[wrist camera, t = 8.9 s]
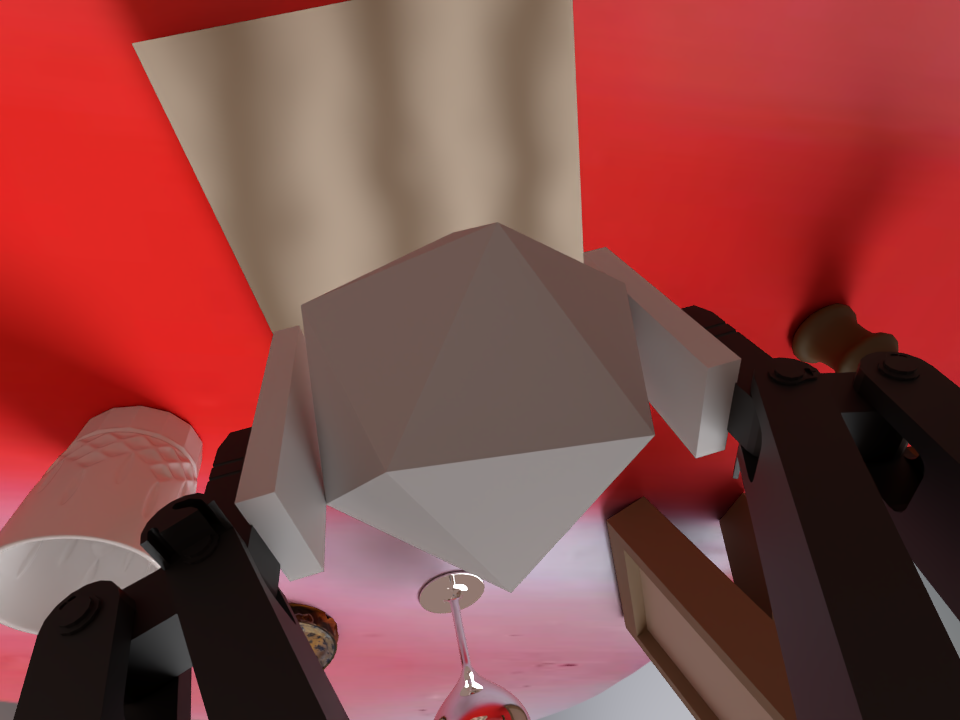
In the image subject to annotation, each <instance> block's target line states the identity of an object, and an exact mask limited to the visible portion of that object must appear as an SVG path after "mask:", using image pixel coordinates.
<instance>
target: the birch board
mask: <svg viewBox="0 0 960 720" xmlns="http://www.w3.org/2000/svg"><path fill="white" fill-rule="evenodd" d="M132 45H133V47H134V49H135V51H136V53H137V55H138V57H139V59H140V61H141V63H142V65H143V67H144V70H145V72H146V74H147V76H148V78H149V80H150V82H151V84H152V86H153V88H154V90H155V92H156V94H157V96H158V98H159V100H160V102H161V104H162V107H163V109H164V111H165V113H166V115H167V117H168V119H169V121H170V123H171V125H172V127H173V129H174V131H175V133H176V135H177V137H178V139H179V141H180V144H181V146H182V148H183V150H184V152H185V154H186V156H187V158H188V160H189V162H190V164H191V166H192V168H193V170H194V172H195V174H196V176H197V178H198V181H199V183H200V185H201V187H202V189H203V191H204V193H205V195H206V197H207V199H208V201H209V203H210V205H211V207H212V209H213V211H214V213H215V215H216V218H217V220H218V222H219V224H220V226H221V228H222V230H223V232H224V234H225V236H226V238H227V240H228V242H229V244H230V246H231V248H232V250H233V253H234V255H235V257H236V259H237V261H238V263H239V265H240V267H241V269H242V271H243V273H244V275H245V277H246V279H247V281H248V283H249V285H250V287H251V290H252V292H253V294H254V296H255V298H256V300H257V302H258V304H259V306H260V308H261V310H262V312H263V314H264V316H265V318H266V320H267V322H268V324H269V327H270V329H271V331H272V333H273V334H274V332H275V331H279V330H283V329H287V328H290V327H294V326H298V325H299V326H300V328H301V330H302V332H303V335H304V327H303V319H302V311H301V305H302V304H304V303H306V302H308V301H310V300H312V299H315V298H317V297H319V296H321V295H323V294H325V293H327V292H329V291H331V290H333V289H336V288H338V287H340V286H342V285H344V284H346V283H348V282H350V281H352V280H354V279H356V278H359V277H361V276H363V275H365V274H367V273H369V272H371V271H373V270H375V269H377V268H380V267H382V266H384V265H386V264H388V263H390V262H392V261H394V260H396V259H398V258H400V257H403V256H405V255H407V254H409V253H411V252H413V251H415V250H417V249H419V248H421V247H424V246H426V245H428V244H430V243H432V242H434V241H436V240H438V239H440V238H442V237H444V236H447V235H449V234H451V233H453V232H457V231H461V230H465V229H470V228H474V227H478V226H483V225H487V224H491V223H496V222H498V223H501V224H503V225H505V226H507V227H509V228H511V229H513V230H515V231H517V232H519V233H521V234H523V235H526V236H528V237H530V238H532V239H534V240H536V241H538V242H540V243H542V244H544V245H546V246H548V247H550V248H553V249H555V250H557V251H559V252H561V253H563V254H565V255H567V256H569V257H571V258H573V259H575V260H578V261H580V262H582V263H584V260H583V234H582V211H581V187H580V164H579V141H578V118H577V94H576V71H575V48H574V25H573V1H572V0H351V1H346V2H341V3H336V4H330V5H325V6H320V7H315V8H310V9H305V10H300V11H295V12H290V13H285V14H279V15H274V16H269V17H264V18H259V19H254V20H249V21H244V22H239V23H234V24H228V25H223V26H218V27H213V28H208V29H203V30H198V31H193V32H188V33H183V34H177V35H172V36H167V37H162V38H157V39H152V40H147V41H142V42H137V43H132ZM304 337H305V335H304Z"/></svg>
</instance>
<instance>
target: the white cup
mask: <svg viewBox="0 0 960 720" xmlns="http://www.w3.org/2000/svg"><path fill="white" fill-rule="evenodd" d="M201 463H202V441H201V440H200V438H199V437H198V435H197V434H196V432H195V431H194V429H193V428H192V426H191V425H190V424H188V423H186V422H185V421H183V420H182V419H180V418H178V417H177V416H175V415H173V414H172V413H170V412H167V411H162V410H158V409H154V408H150V407H145V406H131V407H118V408H112V409H110V410H108V411H106V412H103V413H101V414H99V415H97V416H95V417H93V418H91V419H90V420H89V421H88V422H87V424H86V425H85V426H84V428H83V429H82V430H81V432H80V433H79V434H78V436H77V437H76V439H75V440H74V441H73V442H72V444H71V445H70V446H69V447H68V448H67V450H66V451H65V452H63V453H62V454H61V455H60V456H58V458H57V459H56V461H55V462H54V463H53V464H52V465H51V466H50V468H49V469H48V470H47V471H46V472H45V474H44V475H43V476H42V478H41V480H40V481H39V482H38V483H37V484H36V485H35V486H34V488H33V489H32V490H31V491H30V492H29V494H28V495H27V496H26V498H25V499H24V500H23V502H22V503H21V504H20V506H19V507H18V508H17V510H16V511H15V512H14V514H13V515H12V516H11V518H10V519H9V520H8V522H7V523H6V524H5V526H4V527H3V528H2V530H1V531H0V623H1V624H3V625H5V626H8V627H10V628H13V629H16V630H19V631H23V632H27V633H31V634H36V635H38V633H39V631H40V629H41V627H42V625H43V622H44V620H45V619H46V618H47V617H48V615H49V614H50V613H51V612H52V611H53V609H54V608H55V607H56V606H57V605H58V604H59V603H60V602H61V601H63V600H64V599H65V598H66V597H67V596H69V595H70V594H71V593H73V592H74V591H76V590H78V589H80V588H81V587H83V586H85V585H87V584H90V583H93V582H96V581H100V580H105V581H112V582H114V583H115V584H116V585H117V586H118V587H120V588H121V589H124V588H126V587H127V586H129V585H131V584H133V583H135V582H137V581H138V580H140V579H142V578H144V577H146V576H147V575H149V574H151V573H153V572H155V571H156V570H158V569H159V568H161V566H160V565H159V564H158V563H157V562H156V561H155V560H154V559H153V558H152V557H151V556H150V555H149V554H148V553H147V552H146V551H145V550H144V549H143V548H142V547H141V545H140V537H141V533H142V531H143V529H144V527H145V525H146V524H147V522H148V521H149V520H150V519H151V518H152V517H153V516H154V515H155V513H156V512H157V511H159V510H160V509H161V508H163V507H164V506H166V505H167V504H168V503H170V502H171V501H174V500H176V499H178V498H180V497H182V496H185V495H190V494H195V492H196V487H197V478H198V474H199V470H200V467H201Z"/></svg>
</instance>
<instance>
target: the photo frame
mask: <svg viewBox="0 0 960 720" xmlns="http://www.w3.org/2000/svg"><path fill="white" fill-rule="evenodd" d="M606 522H607V527H608V532H609V538H610V543H611V549H612V554H613V560H614V565H615V571H616V576H617V582H618V587H619V593H620V598H621V603H622V609H623V614H624V620H625V625H626V628H627V630H628V631H629V632H630V634H631V635H632V636H633V637H634V639H635V640H636V641H637V643H638V644H639V645H640V647H641V648H642V649H643V651H644V652H645V653H646V655H647V656H648V657H649V659H650V660H651V661H652V662H653V664H654V665H655V666H656V668H657V669H658V670H659V672H660V673H661V674H662V676H663V677H664V678H665V679H666V681H667V682H668V683H669V685H670V686H671V687H672V689H673V690H674V691H675V693H676V694H677V695H678V697H679V698H680V699H681V701H682V702H683V703H684V704H685V706H686V707H687V708H688V710H689V711H690V712H691V714H692V715H693V716H694V718H695V719H696V720H797V717H796V713H795V708H794V704H793V700H792V695H791V691H790V686H789V682H788V678H787V673H786V669H785V664H784V660H783V656H782V651H781V647H780V642H779V638H778V634H777V629H776V625H775V620H774V616H773V612H772V607H771V603H770V598H769V594H768V590H767V585H766V581H765V576H764V572H763V568H762V563H761V559H760V554H759V550H758V546H757V541H756V537H755V532H754V528H753V524H752V519H751V515H750V510H749V506H748V502H747V497H746V493H742V494H741V495H740V496H739V498H738V499H737V500H736V501H735V503H734V504H733V505H732V506H731V507H730V509H729V510H728V511H727V512H726V514H725V515H724V516H723V517H722V518H721V520H720V521H719V522H720V526H721V531H722V535H723V539H724V543H725V547H726V551H727V555H728V560H729V564H730V568H731V572H732V576H733V580H734V583H733V582H732V581H731V580H730V579H729V578H728V577H727V576H726V575H725V574H724V573H723V572H722V571H721V570H720V569H719V568H718V567H717V566H716V565H715V564H714V563H713V562H712V561H711V560H710V559H709V558H707V557H706V556H705V555H704V554H703V553H702V552H701V551H700V550H699V549H698V548H697V547H696V546H695V545H694V544H693V543H692V542H691V541H690V540H689V539H688V538H687V537H686V536H685V535H684V534H683V533H681V532H680V531H679V530H678V529H677V528H676V527H675V526H674V525H673V524H672V523H671V522H670V521H669V520H668V519H667V518H666V517H665V516H664V515H663V514H662V513H661V512H660V511H659V510H658V509H657V508H656V507H654V506H653V505H652V504H651V503H650V502H649V501H648V500H647V499H646V498H645V497H644V496H643V497H642V498H640V499H639V500H637V501H636V502H634V503H633V504H631V505H629V506H628V507H626V508H625V509H623V510H622V511H620V512H619V513H617V514H616V515H614V516H612V517H611V518H609V519H608V520H606Z"/></svg>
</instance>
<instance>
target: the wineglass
mask: <svg viewBox="0 0 960 720" xmlns="http://www.w3.org/2000/svg"><path fill="white" fill-rule="evenodd" d="M483 592H484V582H483V580H482V579H481V578H479V577H477V576H475V575H473V574H471V573H469V572H464V571H460V572H451V573H447V574H444V575H441V576H439V577H437V578H435V579H433V580H432V581H430V582H429V583H428V584H426V585H425V586H424V588H423V589H422V591H421V593H420V596H419V601H420V604H421V606H422V607H423V608H424V609H426V610H427V611H430V612H433V613H451V612H452V616H453V621H454V626H455V631H456V637H457V642H458V648H459V653H460V659H461V664H462V671H461V675H460V678H459V680H458V682H457V684H456V685H455V687H454V688H453V690H452V691H451V692H450V694H449V695H448V697H447V698H446V699H445V701H444V702H443V704H442V705H441V707H440V708H439V710H438V712H437V714H436V716H435V718H434V720H531V719H530V717H529V714H528V712H527V711H526V709H525V707H524V706H523V705H522V703H521V702H520V701H519V700H518V699H517V698H516V697H515V696H514V695H513V694H512V693H510V692H509V691H508V690H506V689H505V688H503V687H501V686H499V685H498V684H496V683H494V682H492V681H490V680H488V679H486V678H484V677H482V676H481V675H479V674H478V673H477V672H476V671H475V670H474V669H473V667H472V665H471V662H470V657H469V652H468V647H467V642H466V637H465V632H464V627H463V622H462V617H461V611H460V610H462V609H464V608H466V607H468V606H470V605H472V604H473V603H475V602H476V601H477V600H478V599H479V598H480V597H481V595H482V594H483Z"/></svg>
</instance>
